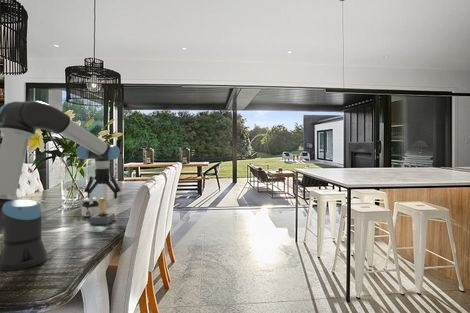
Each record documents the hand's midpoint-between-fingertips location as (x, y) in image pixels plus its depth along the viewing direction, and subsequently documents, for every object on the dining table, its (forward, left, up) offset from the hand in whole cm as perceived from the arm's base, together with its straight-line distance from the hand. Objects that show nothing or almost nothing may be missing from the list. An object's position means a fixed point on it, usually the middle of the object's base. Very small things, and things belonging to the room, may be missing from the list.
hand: (102, 204), depth 165 cm
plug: (0, 0, -11) cm, 11 cm away
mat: (-15, -4, -11) cm, 19 cm away
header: (0, 0, -11) cm, 11 cm away
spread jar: (+14, +12, -11) cm, 21 cm away
